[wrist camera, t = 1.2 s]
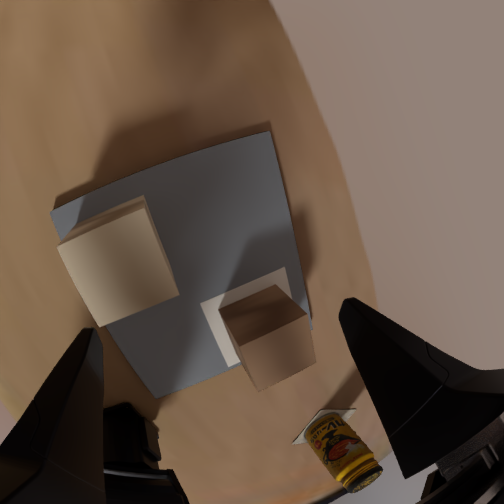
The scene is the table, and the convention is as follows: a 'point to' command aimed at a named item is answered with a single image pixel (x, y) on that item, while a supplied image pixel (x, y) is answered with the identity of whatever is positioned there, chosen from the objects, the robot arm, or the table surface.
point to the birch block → (118, 262)
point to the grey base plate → (202, 254)
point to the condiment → (341, 449)
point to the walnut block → (269, 336)
